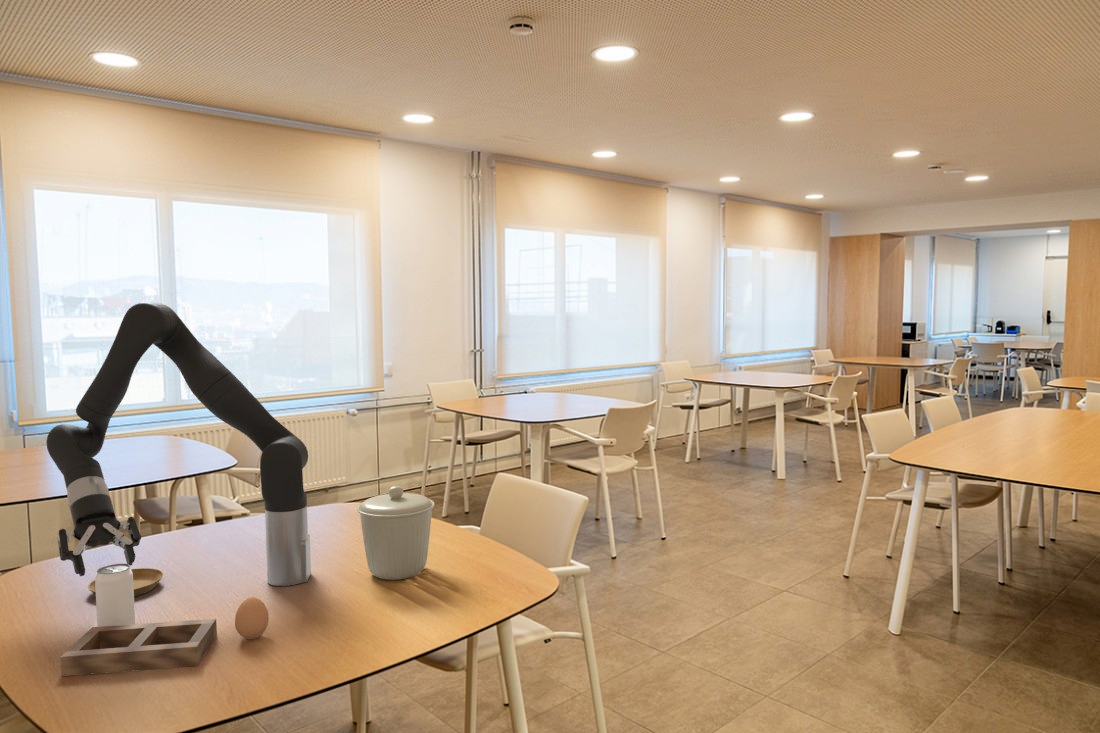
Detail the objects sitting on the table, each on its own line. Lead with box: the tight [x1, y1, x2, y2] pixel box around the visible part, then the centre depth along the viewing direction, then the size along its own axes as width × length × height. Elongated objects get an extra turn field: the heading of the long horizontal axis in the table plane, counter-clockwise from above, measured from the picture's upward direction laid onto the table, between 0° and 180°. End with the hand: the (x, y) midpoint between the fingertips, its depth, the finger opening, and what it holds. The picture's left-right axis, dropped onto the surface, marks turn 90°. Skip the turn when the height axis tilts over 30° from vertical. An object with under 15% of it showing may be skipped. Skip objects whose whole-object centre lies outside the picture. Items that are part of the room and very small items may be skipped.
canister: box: [356, 485, 436, 581], centre depth 174 cm, size 18×18×21 cm
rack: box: [59, 618, 218, 677], centre depth 133 cm, size 22×12×4 cm, turn 99°
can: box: [94, 563, 136, 627], centre depth 145 cm, size 6×6×12 cm
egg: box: [234, 596, 270, 640], centre depth 140 cm, size 6×6×8 cm
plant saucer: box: [87, 567, 164, 597], centre depth 165 cm, size 15×15×3 cm
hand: (107, 568), depth 148 cm, fingers open, 8 cm apart
